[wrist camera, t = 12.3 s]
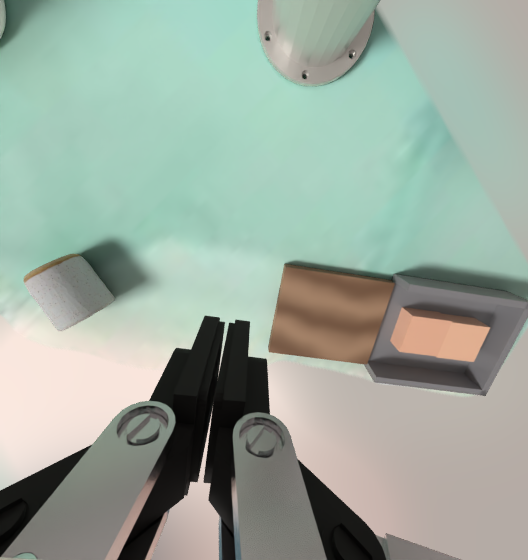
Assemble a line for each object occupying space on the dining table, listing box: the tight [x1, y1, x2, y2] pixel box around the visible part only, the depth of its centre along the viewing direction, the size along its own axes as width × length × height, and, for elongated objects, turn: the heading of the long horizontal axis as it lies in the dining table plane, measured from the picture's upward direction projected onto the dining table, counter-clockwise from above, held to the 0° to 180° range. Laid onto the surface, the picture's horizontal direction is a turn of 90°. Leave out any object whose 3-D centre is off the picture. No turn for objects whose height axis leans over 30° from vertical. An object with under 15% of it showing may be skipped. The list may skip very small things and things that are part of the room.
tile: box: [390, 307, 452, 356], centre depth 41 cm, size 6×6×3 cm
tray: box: [364, 274, 528, 396], centre depth 41 cm, size 16×18×4 cm
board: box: [268, 264, 395, 364], centre depth 41 cm, size 14×16×2 cm
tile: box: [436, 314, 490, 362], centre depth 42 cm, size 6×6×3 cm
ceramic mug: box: [24, 254, 115, 331], centre depth 36 cm, size 11×8×8 cm
